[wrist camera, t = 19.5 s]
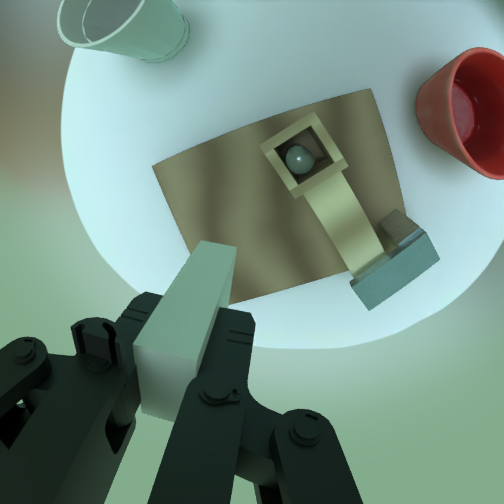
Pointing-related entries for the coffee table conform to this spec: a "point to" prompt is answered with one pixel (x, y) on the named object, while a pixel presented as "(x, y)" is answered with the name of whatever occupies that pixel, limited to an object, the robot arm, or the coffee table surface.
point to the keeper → (396, 261)
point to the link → (329, 195)
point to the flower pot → (467, 110)
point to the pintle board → (279, 195)
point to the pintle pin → (299, 158)
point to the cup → (124, 27)
